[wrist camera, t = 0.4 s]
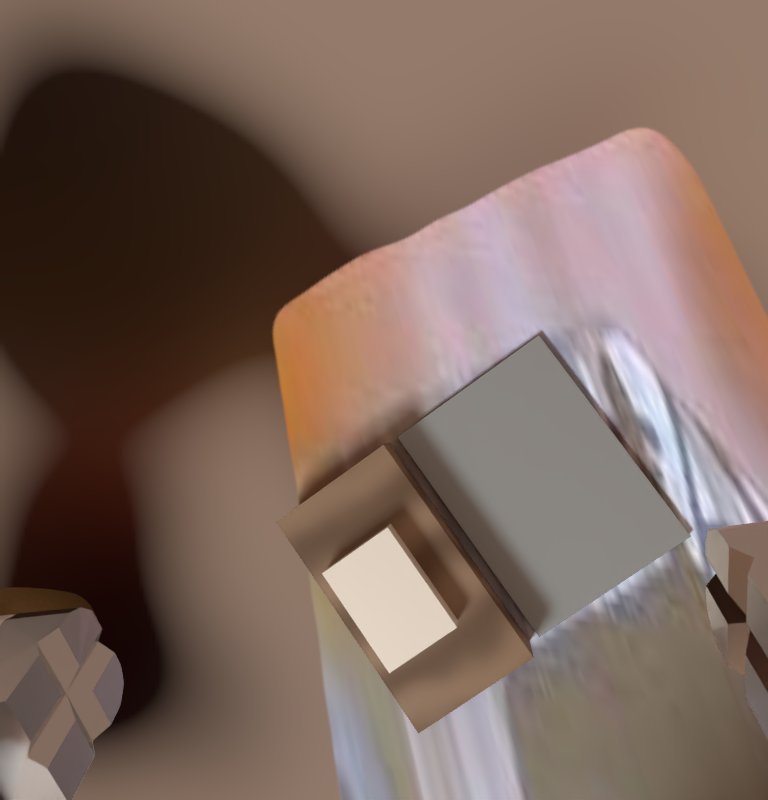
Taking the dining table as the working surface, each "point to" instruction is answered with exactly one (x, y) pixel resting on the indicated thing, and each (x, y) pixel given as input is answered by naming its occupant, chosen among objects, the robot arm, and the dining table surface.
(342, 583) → the cream flat block
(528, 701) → the dining table surface
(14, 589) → the plant pot
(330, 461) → the dining table surface
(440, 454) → the grey mat
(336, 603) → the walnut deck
